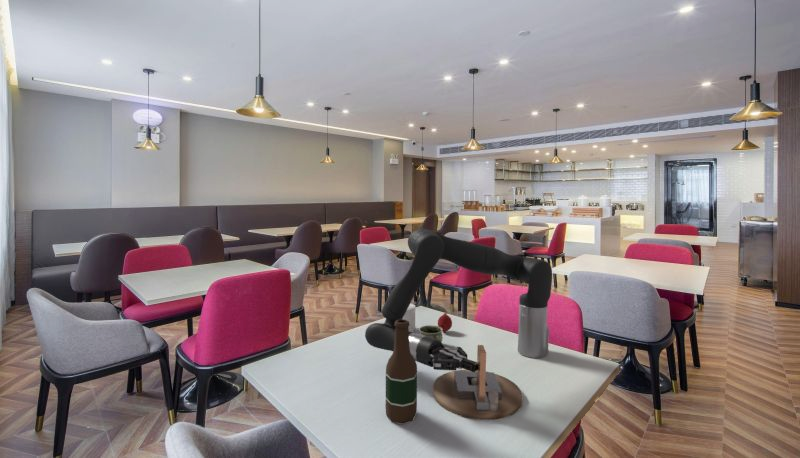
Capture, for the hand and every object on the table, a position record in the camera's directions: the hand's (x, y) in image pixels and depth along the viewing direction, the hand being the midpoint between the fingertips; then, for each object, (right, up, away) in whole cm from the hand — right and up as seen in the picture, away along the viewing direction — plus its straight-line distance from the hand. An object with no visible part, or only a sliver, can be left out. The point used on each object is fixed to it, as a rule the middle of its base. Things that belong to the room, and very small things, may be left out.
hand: (476, 367), depth 98 cm
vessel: (-8, -7, +42) cm, 43 cm away
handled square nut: (+1, -9, +5) cm, 10 cm away
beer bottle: (-19, -11, -3) cm, 22 cm away
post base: (+2, -10, +7) cm, 13 cm away
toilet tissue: (-19, -6, +58) cm, 62 cm away
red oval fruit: (-2, -6, +56) cm, 56 cm away
